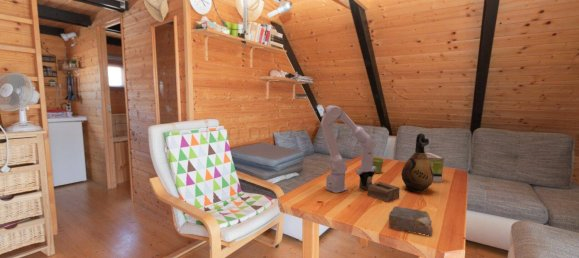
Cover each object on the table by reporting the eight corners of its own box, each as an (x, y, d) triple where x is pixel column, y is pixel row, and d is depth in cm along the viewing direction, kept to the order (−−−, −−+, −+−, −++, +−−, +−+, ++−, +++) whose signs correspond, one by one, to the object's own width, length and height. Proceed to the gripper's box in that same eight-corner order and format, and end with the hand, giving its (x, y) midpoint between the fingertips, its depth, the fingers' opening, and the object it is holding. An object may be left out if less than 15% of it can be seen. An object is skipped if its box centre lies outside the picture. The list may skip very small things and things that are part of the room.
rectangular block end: (368, 190, 143) (369, 177, 142) (359, 187, 148) (360, 175, 147) (371, 189, 144) (372, 176, 144) (362, 186, 149) (363, 174, 148)
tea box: (442, 182, 159) (444, 157, 157) (424, 182, 159) (426, 157, 158) (429, 175, 174) (431, 152, 172) (413, 174, 174) (415, 151, 173)
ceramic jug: (436, 196, 137) (441, 136, 133) (403, 193, 140) (408, 135, 136) (426, 185, 154) (431, 132, 150) (397, 183, 157) (401, 131, 153)
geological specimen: (391, 205, 113) (432, 210, 106) (390, 219, 113) (432, 225, 106) (387, 214, 103) (433, 220, 96) (387, 230, 103) (432, 237, 97)
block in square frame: (387, 202, 128) (387, 191, 127) (367, 195, 137) (368, 185, 136) (398, 197, 134) (399, 187, 134) (379, 191, 143) (380, 181, 142)
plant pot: (380, 175, 172) (381, 161, 170) (366, 172, 177) (366, 159, 176) (385, 172, 179) (386, 159, 178) (371, 169, 185) (372, 157, 184)
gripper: (364, 163, 137) (363, 190, 138) (381, 159, 145) (380, 184, 147) (353, 160, 142) (352, 186, 144) (370, 157, 151) (369, 181, 153)
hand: (365, 185), depth 146 cm, fingers closed on rectangular block end, 2 cm apart
